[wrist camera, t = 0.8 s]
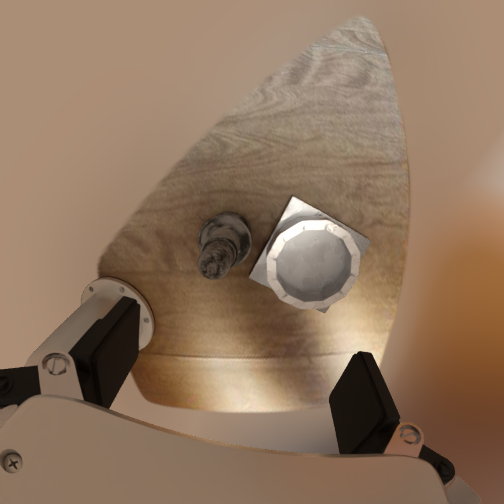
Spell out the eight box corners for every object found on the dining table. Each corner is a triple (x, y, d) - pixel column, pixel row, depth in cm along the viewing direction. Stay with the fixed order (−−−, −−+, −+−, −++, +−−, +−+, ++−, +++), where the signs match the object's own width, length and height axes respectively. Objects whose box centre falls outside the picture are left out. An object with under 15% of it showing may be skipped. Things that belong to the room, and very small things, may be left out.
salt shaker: (194, 227, 34) (161, 262, 22) (234, 199, 32) (217, 222, 21) (223, 265, 35) (204, 316, 24) (262, 239, 34) (261, 282, 23)
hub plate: (323, 308, 36) (328, 323, 33) (249, 274, 35) (247, 286, 32) (368, 238, 33) (378, 247, 30) (292, 195, 32) (295, 199, 28)
